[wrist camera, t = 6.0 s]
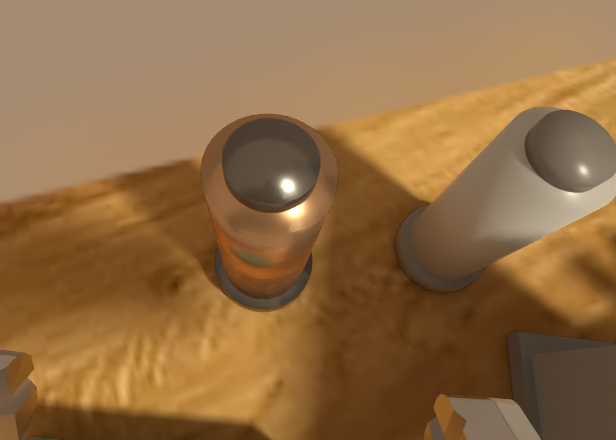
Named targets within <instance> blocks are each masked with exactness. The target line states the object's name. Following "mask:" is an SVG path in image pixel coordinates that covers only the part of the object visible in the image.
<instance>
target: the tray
mask: <svg viewBox="0 0 616 440" xmlns="http://www.w3.org/2000/svg"><path fill="white" fill-rule="evenodd" d="M19 440H61V439H49V438H37V437H26V438H22V439H19Z"/></svg>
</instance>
